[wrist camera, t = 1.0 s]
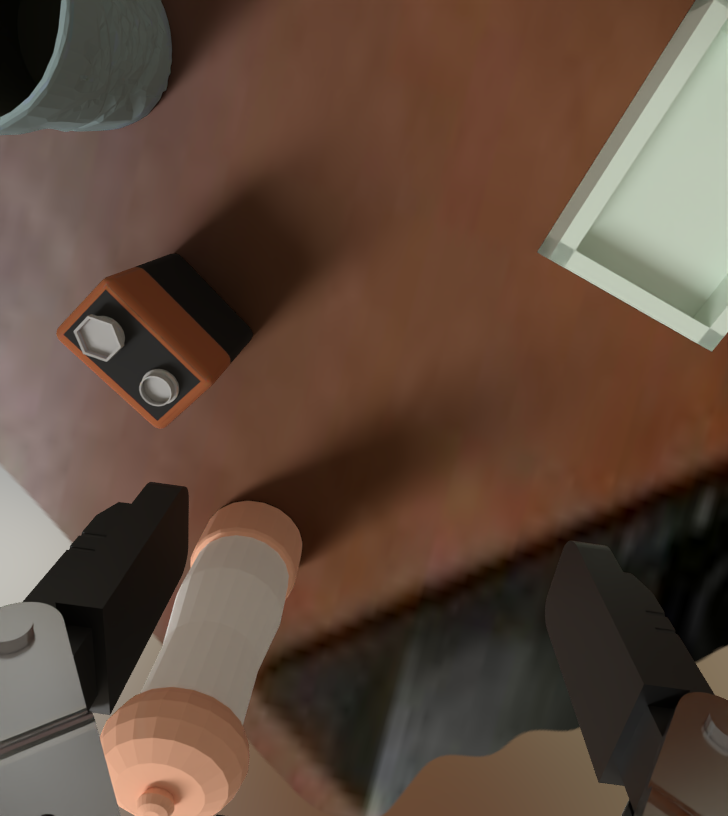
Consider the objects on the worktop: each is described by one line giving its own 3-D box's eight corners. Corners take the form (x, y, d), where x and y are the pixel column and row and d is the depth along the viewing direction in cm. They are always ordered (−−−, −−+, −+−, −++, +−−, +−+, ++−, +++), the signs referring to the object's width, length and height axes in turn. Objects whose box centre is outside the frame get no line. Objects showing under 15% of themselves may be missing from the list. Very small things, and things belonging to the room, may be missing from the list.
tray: (700, -8, 27) (730, -25, 25) (870, 108, 29) (913, 102, 27) (537, 252, 33) (548, 258, 30) (689, 339, 34) (711, 351, 32)
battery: (177, 248, 33) (95, 276, 24) (257, 332, 35) (210, 388, 26) (131, 296, 35) (37, 340, 25) (211, 375, 36) (150, 443, 27)
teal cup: (206, -30, 28) (85, -164, 17) (168, 176, 32) (49, 177, 21) (3, -109, 27) (-262, -303, 16) (-11, 113, 31) (-233, 79, 20)
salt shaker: (322, 552, 41) (271, 832, 24) (250, 597, 43) (153, 887, 26) (257, 482, 39) (149, 733, 22) (184, 533, 41) (30, 801, 24)
